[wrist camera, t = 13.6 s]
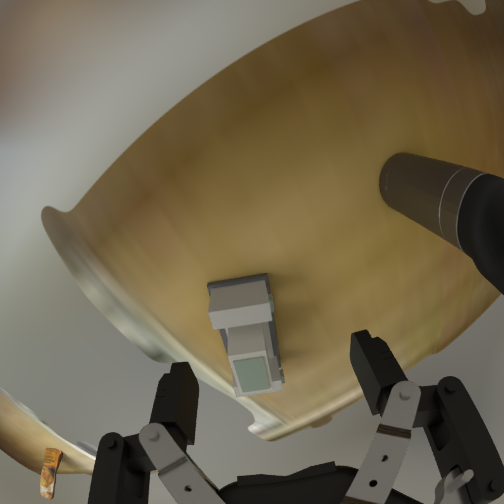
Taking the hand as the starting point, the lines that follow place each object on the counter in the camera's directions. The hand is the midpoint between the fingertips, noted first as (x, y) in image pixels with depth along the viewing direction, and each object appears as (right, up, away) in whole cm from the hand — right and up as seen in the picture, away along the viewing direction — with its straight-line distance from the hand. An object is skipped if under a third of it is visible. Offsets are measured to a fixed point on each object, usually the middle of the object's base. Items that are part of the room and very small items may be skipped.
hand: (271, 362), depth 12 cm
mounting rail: (-2, -8, +33) cm, 34 cm away
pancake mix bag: (-92, -87, +62) cm, 141 cm away
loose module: (-1, -8, +32) cm, 33 cm away
